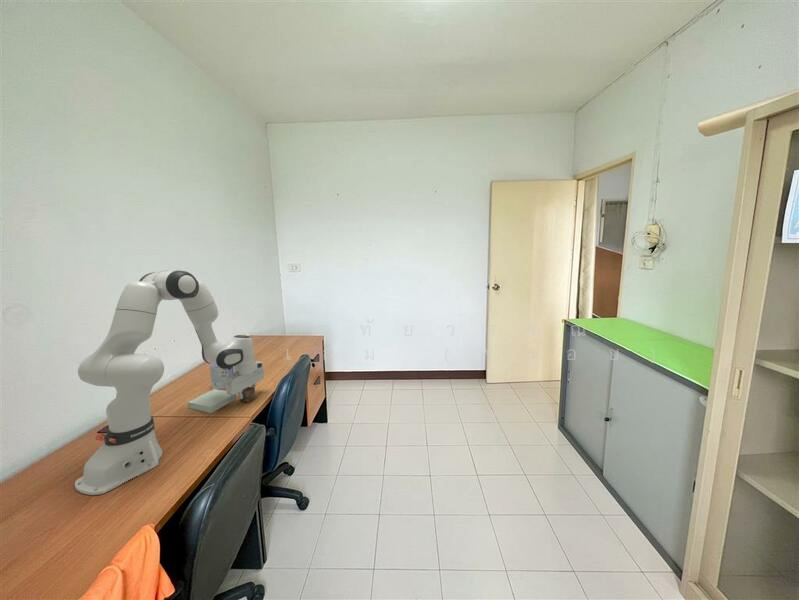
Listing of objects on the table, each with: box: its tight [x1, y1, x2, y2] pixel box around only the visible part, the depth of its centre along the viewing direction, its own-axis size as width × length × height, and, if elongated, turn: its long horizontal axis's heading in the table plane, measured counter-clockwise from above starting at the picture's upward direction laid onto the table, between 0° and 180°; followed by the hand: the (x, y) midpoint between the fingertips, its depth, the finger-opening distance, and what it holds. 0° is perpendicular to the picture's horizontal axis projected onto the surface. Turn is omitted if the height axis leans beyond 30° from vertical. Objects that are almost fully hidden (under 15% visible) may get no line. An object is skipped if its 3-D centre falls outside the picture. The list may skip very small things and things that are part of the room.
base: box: [187, 389, 237, 414], centre depth 149 cm, size 14×14×3 cm
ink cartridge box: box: [209, 365, 235, 390], centre depth 165 cm, size 10×6×14 cm, turn 89°
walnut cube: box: [238, 386, 257, 403], centre depth 152 cm, size 5×5×5 cm
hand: (247, 395), depth 152 cm, fingers closed on walnut cube, 5 cm apart
